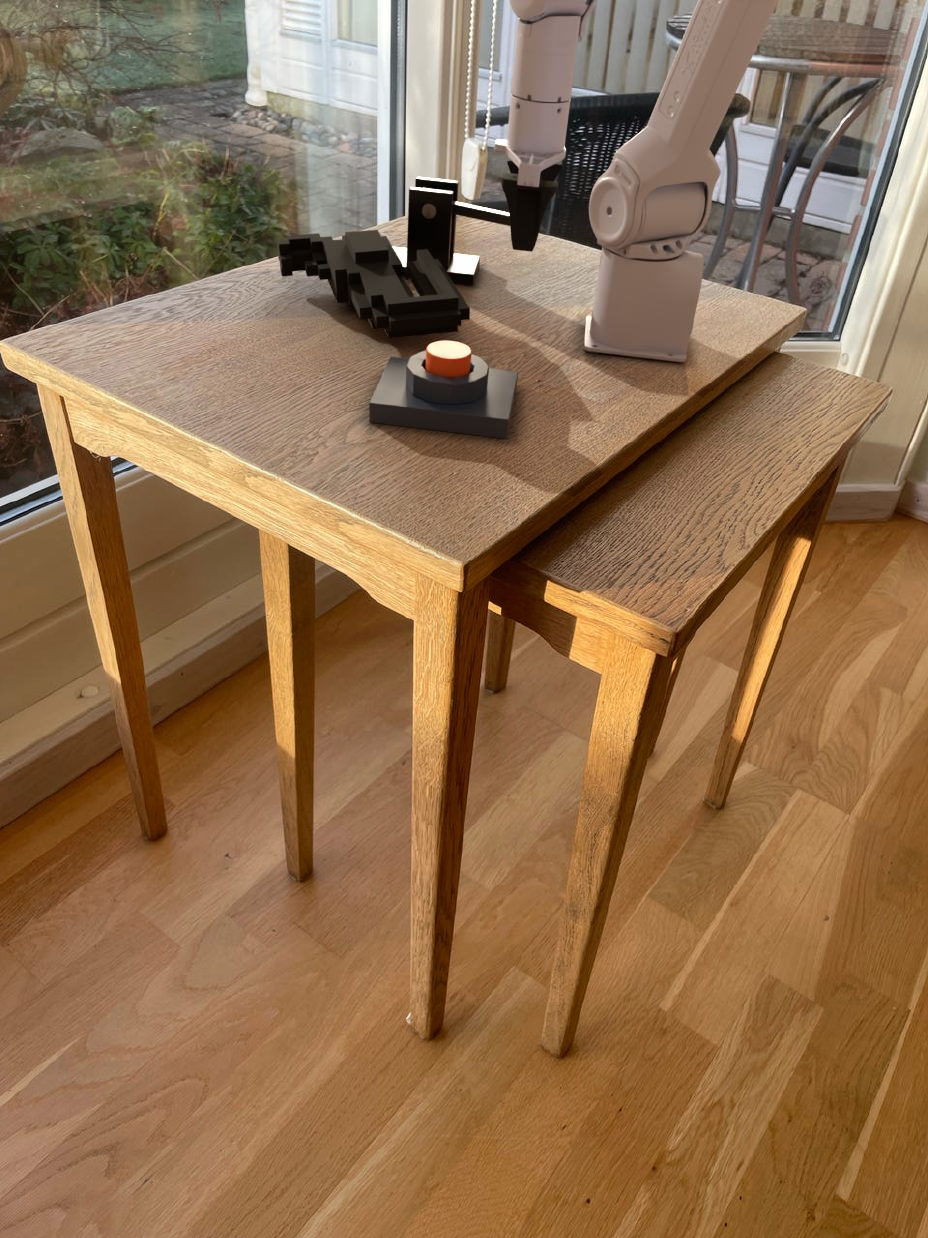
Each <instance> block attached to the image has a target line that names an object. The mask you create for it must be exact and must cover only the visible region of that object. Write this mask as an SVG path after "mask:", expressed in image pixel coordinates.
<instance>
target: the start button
mask: <svg viewBox="0 0 928 1238" xmlns="http://www.w3.org/2000/svg"><path fill="white" fill-rule="evenodd" d="M425 351H426V371H427V372H429V373H431V374H434V375H436V376H442V377H450V378H453V377H462V376H466V375H468V374H469V373H470V366H471V354H473V353H472V348H470V347H469V346H468V345H467V344H465V343H463V342H459V341H454V340H438V341H434V342H431V343H429V344H428V345H427V346H426V349H425Z"/></svg>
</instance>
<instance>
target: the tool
mask: <svg viewBox="0 0 928 1238" xmlns="http://www.w3.org/2000/svg"><path fill="white" fill-rule="evenodd" d="M392 246H393V245H392V244H391V242H390V240H389V238H388V237H387V236H386V235H381V233H380V231H379V230H378V229H370V230H357V231H345V232H344V234H343V235H341V239H333V236H332V235H331V236H329V235H328V236H321V234H320V233H317V232H316V233H303V234H292V235H291V234H290V235H286V239H279V240H277V248H276V249H277V257H278V261H279V269H280V275H281V277H293V276H294V273H293V272H304V271H305V274H306V277H307V278H309V277H318V279H319V280H320V281H325V280H327V282H328V284H329V287H330V289H331V292H332V294H333V296H334V299H335V301H336V303H337V304H342V303H343V304H344V303H348V305H349V307H350V308H351V307H352V308H353V307H354V308H355V311H356V313H357V315H358V318H359V320H367V321H368V324H369V325H370V327H371V330H372V331H374V330H384V331H385V334H386V336H387V338H388V339H401V338H410V337H420V336H429V335H438V334H439V335H440V334H450V333H458V332H459V327H460V326H462V321H469V320H470V319H471V318H470V317H471V307H470V306H469V304H468V303H467V301H466V299H465V298H464V297H463V295H462V294H461V292H460V290H459V289H458V288H457V286H456V284H454V283H453V281H452V280H451V278H450V277H449V275H448V274H447V272H446V271H445V269H444V268H443V266H442V264H441V263H440V261H439V260H438V259H435V260H434V259H433V257H432V255H431V254H430V252H429V251H428V249H424V250H417V261H411V262H406V273H407V274H408V276H409V278H410V279H409V280H410V282H411V283H412V285H413V287H414V288H415V291H416V292H417V293H418V295H417V296H415V295H414V293H413V291H412V289H411V288H410V285H409V284H408V282H407V280H406V278H404V277H403V266H402V263H401V261H400V259H399V257H398V256H397V254H396V252H395V250H394V249H393V247H394V246H393V247H392Z"/></svg>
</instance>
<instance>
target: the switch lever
mask: <svg viewBox="0 0 928 1238" xmlns="http://www.w3.org/2000/svg"><path fill="white" fill-rule="evenodd" d="M423 188H427V189H436V188H432V187H427V186H423ZM436 190H441V189H436ZM445 191H446V190H445ZM452 214H455V215H456V216H460V217H464V218H469V219H474V220H478V221H485V222H489V223H492V224H498V225H503V226H507V227H510V215H509V211H508V212H506V211H504V210H503V211H502V210H498V209H494V208H488V207H483V206H479V205H475V204H469V203H466V202H460V201H457V202H456V201H453V210H452Z"/></svg>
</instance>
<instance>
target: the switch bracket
mask: <svg viewBox="0 0 928 1238" xmlns="http://www.w3.org/2000/svg"><path fill="white" fill-rule="evenodd" d="M414 181H415V183H414V184H415V185H414V186H410V187H409V189H408V203H407V205H408V207H407V208H408V209H407V238H406V247H403V246H402V247H400V246H393V245H392V247H393V249H394V250H395V252H396V254H397V256H398V257H399V259H400V261H401V263H402V266H403V277H404V279H409V280H410V278H409V276H408V274H407V273H406V262H411V261H417V250H424V249H428V251H429V252H430V254H431V255H432V257H433V259H434V260H435V259H438V260H439V261H440V263H441V264H442V266H443V268H444V269H445V271H446V272H447V274H448V275H449V277H450V278H451V280H452V281H453V283H454V284H455V285H461V286H468V287H469V286H471V287H473V286H474V284H475V281H476V278H477V274H478V271H479V270H480V263H481V262H480V261H481V256H480V255H474V254H464V253H455V247H456V246H455V244H456V230H457V215H455V214H452V210H453V201H456V202H458V198H459V183H460V182H459V180H454V179H445V178H435V177H426V176H416V178H415V180H414ZM423 186H427V187H432V188H436V189H441V190H436V189H427V188H423ZM445 190H446V191H445Z"/></svg>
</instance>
